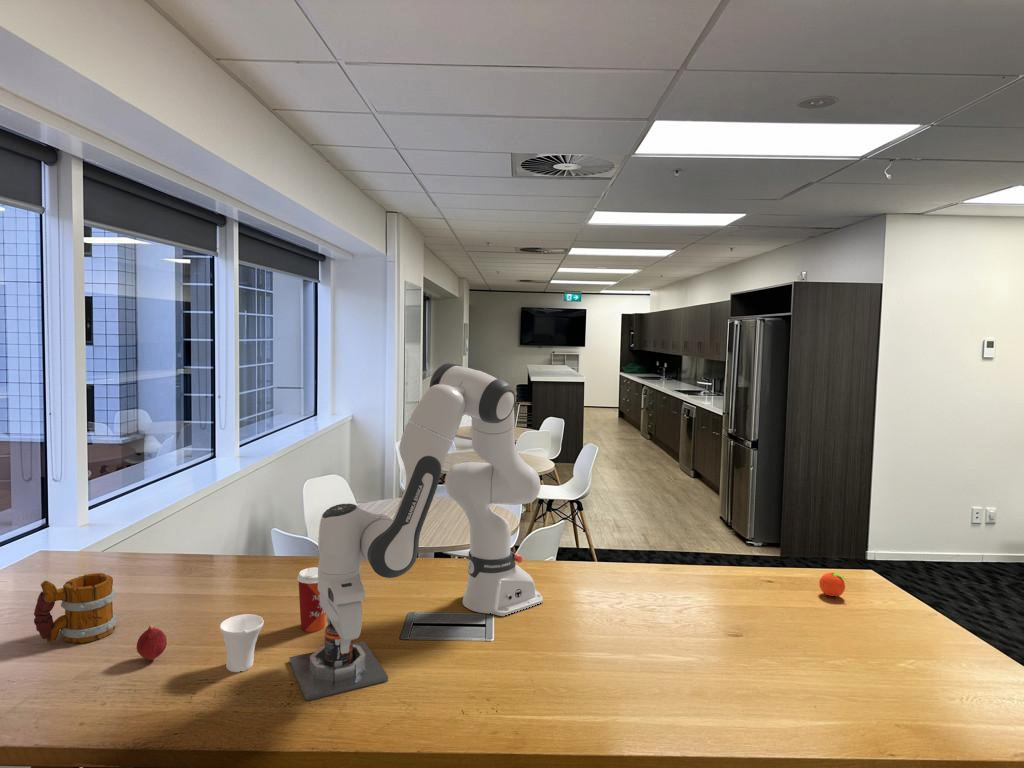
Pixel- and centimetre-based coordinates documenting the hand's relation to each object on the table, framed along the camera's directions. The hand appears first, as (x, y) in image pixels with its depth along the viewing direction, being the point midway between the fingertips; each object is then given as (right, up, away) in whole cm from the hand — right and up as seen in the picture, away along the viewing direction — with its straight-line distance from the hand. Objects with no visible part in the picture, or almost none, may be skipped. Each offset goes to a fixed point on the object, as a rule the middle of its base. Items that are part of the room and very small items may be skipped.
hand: (338, 641), depth 141 cm
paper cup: (-12, -5, +20) cm, 24 cm away
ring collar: (0, -7, +1) cm, 7 cm away
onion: (-42, -5, +2) cm, 42 cm away
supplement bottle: (0, -6, +1) cm, 6 cm away
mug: (-64, -3, +11) cm, 65 cm away
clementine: (+133, -7, +52) cm, 143 cm away
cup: (-21, -6, +1) cm, 22 cm away
